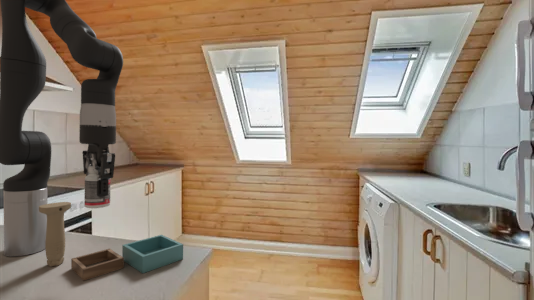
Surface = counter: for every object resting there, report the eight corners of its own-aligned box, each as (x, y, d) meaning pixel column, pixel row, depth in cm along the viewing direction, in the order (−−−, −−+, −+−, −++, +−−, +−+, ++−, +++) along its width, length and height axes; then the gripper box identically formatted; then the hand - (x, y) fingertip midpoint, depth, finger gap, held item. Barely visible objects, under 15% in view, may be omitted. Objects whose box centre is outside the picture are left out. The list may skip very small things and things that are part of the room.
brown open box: (71, 268, 68) (71, 258, 67) (109, 257, 74) (109, 248, 74) (83, 280, 62) (83, 269, 62) (123, 267, 69) (123, 257, 69)
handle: (35, 266, 68) (35, 206, 68) (64, 257, 74) (64, 201, 73) (45, 271, 66) (45, 208, 65) (74, 261, 72) (74, 203, 71)
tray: (122, 259, 73) (122, 244, 73) (161, 248, 82) (161, 234, 81) (142, 273, 66) (142, 256, 66) (183, 259, 75) (183, 244, 74)
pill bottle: (111, 207, 67) (111, 166, 67) (84, 210, 64) (84, 167, 64) (109, 202, 71) (109, 164, 71) (84, 205, 68) (84, 165, 68)
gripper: (70, 123, 69) (70, 192, 69) (91, 122, 59) (91, 201, 60) (103, 125, 74) (102, 188, 75) (127, 124, 65) (126, 196, 66)
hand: (97, 193), depth 68 cm, fingers closed on pill bottle, 5 cm apart
